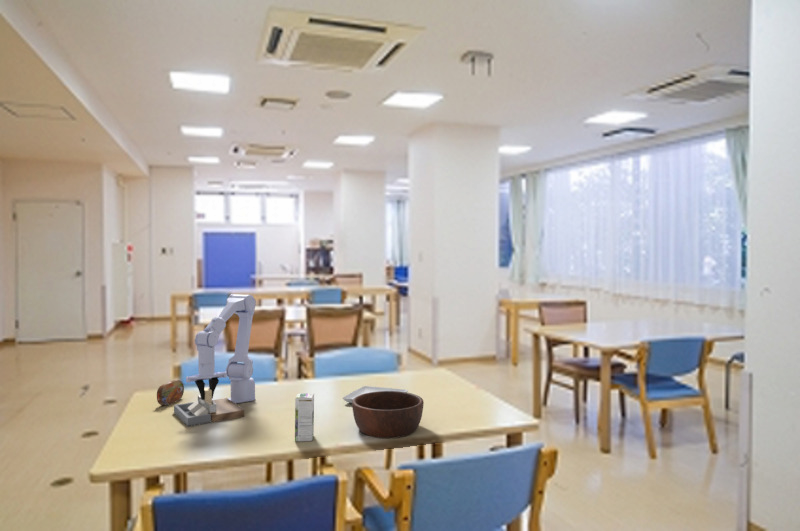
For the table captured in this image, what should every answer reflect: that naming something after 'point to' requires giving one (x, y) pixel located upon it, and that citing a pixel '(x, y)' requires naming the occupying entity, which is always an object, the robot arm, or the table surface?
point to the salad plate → (368, 389)
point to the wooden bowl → (387, 413)
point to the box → (190, 415)
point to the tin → (170, 392)
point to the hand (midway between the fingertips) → (206, 398)
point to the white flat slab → (208, 401)
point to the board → (226, 410)
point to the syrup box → (304, 417)
